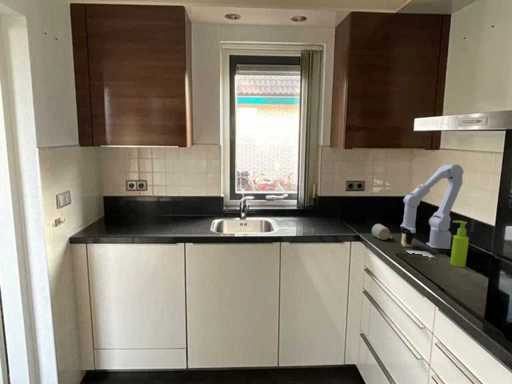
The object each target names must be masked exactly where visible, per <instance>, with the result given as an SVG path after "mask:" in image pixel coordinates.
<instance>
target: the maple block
mask: <svg viewBox="0 0 512 384" xmlns="http://www.w3.org/2000/svg"><path fill="white" fill-rule="evenodd" d="M414 238H415V237H414ZM414 238H413V240H412V243H411V244H407V243H406V234H405V233H402V232H401V240H400V241H401V242H400V245H401V244H402V245H401V246H402V247H404V248H413V247H414Z"/></svg>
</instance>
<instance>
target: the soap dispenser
mask: <svg viewBox="0 0 512 384" xmlns="http://www.w3.org/2000/svg"><path fill="white" fill-rule="evenodd" d="M452 223H457V224H459V223H460V226H459V228H457V232H456V234H455V235H453V237H452V238H453V239H452V245H451V254H450V265H451V266H454V267H456V266H457V268H465V267H466V263H467V256H468V249H469V240H470V237H468V236H467V229H466V227H465V226H466V225H467V224H468V222H467V221H464V220H452Z"/></svg>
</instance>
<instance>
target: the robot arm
mask: <svg viewBox="0 0 512 384" xmlns="http://www.w3.org/2000/svg"><path fill="white" fill-rule="evenodd" d="M464 172H465V171H464V169H463V168H462V166H461V165H460V164H454V163H453V164H451V163H443V164H442V165H441V166H440V167H438V168H437V170H436V172H434V174H433V175H432V176H431V177H430V178H429V179H428V180H427V181H426V182H425V183H423V184H422V183H420V184H419V185H417V186H416V188H415V189H414V190H413V191H411V192H410V194H407V195H405V197H403V199H402V201H403V204H404V210H403V211H404V214H403V221H402V223H401V224H400V231H401V234H402V233H405V234H406V243H407V244H411V243H412V240H413V238H415V237H416V235H417V231H416V219H417V208H418V206H419V205H420V203H421V201H422V199H424V198H425V197H426V196H427V195H428V194H429V193H430V189H431V188H432V187H434V186H435V185H436V184H438V183H439V182H440V181H441V180H442V179H446V180H447V181H448V186H447V189H446V191H445V193H444V196H443V198H442V201H441V203H440V205H439V208H438V210H437V211H435V212H434V213H433V215H432V216H431V217H430V218H429V220H428V224H429V226H430V233H429V241H428V242H426V243H425V244H426V245H427V246H429V247H430V248H432V249H443V250H444V249H445V250H448V249H449V250H452V247H451V242H452V233H451V232H450V230H449V229H450V227H451V220H452V219H451V215H450V213H451V211H452V208H453V206H454V204H455V202H456V199H457V197H458V194H459V191H460V190H461V188H462V185H463V174H464ZM413 241H414V240H413Z"/></svg>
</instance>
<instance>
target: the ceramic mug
mask: <svg viewBox="0 0 512 384" xmlns="http://www.w3.org/2000/svg"><path fill="white" fill-rule="evenodd" d="M371 234H372V236H373V237H375V238H377V239H379V240H381V241H386V240H388V239H391V240H392V239H393V235H392V234H391V231H390V229H389V228H388V227H386V226H384V225H382V224H381V223H376V224H374V225H373V226H372V228H371Z"/></svg>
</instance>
